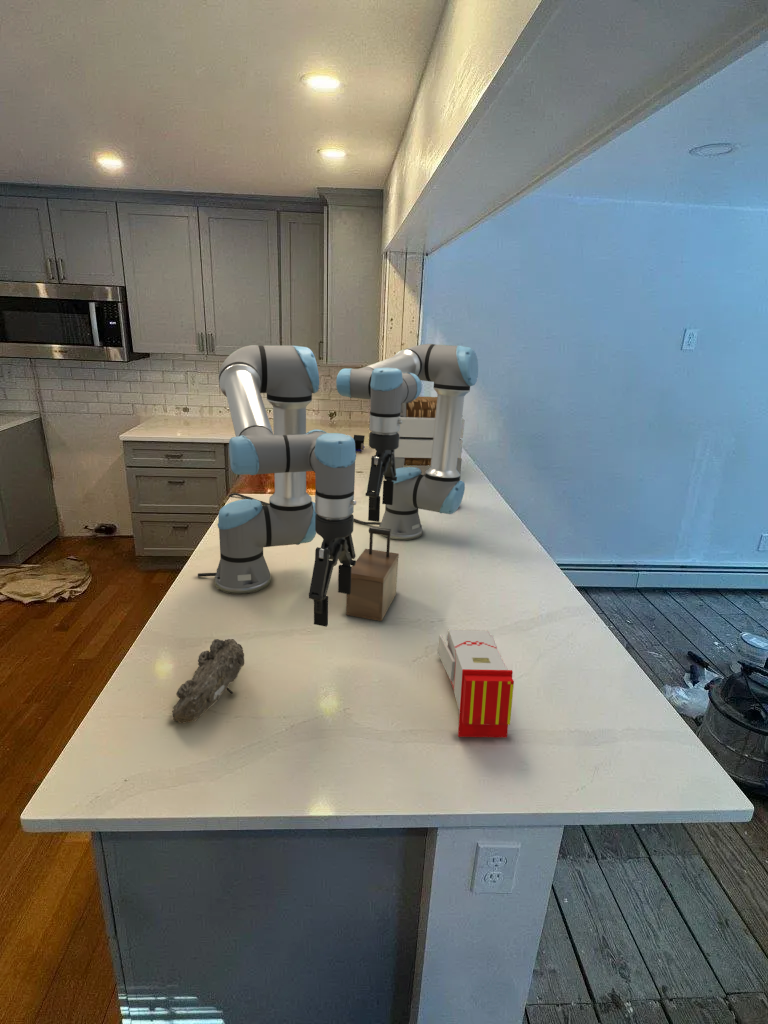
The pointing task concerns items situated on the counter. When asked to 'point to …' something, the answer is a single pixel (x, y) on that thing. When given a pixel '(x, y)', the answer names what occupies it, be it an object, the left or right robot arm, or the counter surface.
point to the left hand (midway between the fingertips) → (333, 607)
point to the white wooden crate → (419, 433)
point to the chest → (372, 596)
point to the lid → (375, 560)
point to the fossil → (209, 680)
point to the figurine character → (359, 442)
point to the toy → (478, 682)
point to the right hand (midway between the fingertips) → (380, 512)
